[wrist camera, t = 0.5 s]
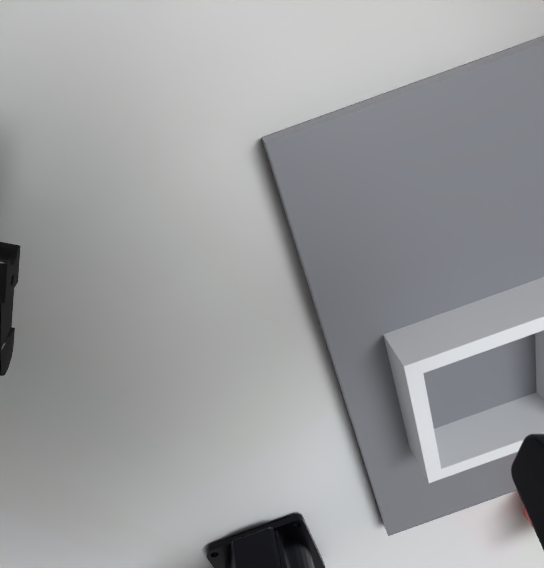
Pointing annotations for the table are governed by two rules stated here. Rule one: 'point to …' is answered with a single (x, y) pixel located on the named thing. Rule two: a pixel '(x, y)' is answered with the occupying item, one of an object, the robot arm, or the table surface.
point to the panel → (429, 274)
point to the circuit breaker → (7, 300)
